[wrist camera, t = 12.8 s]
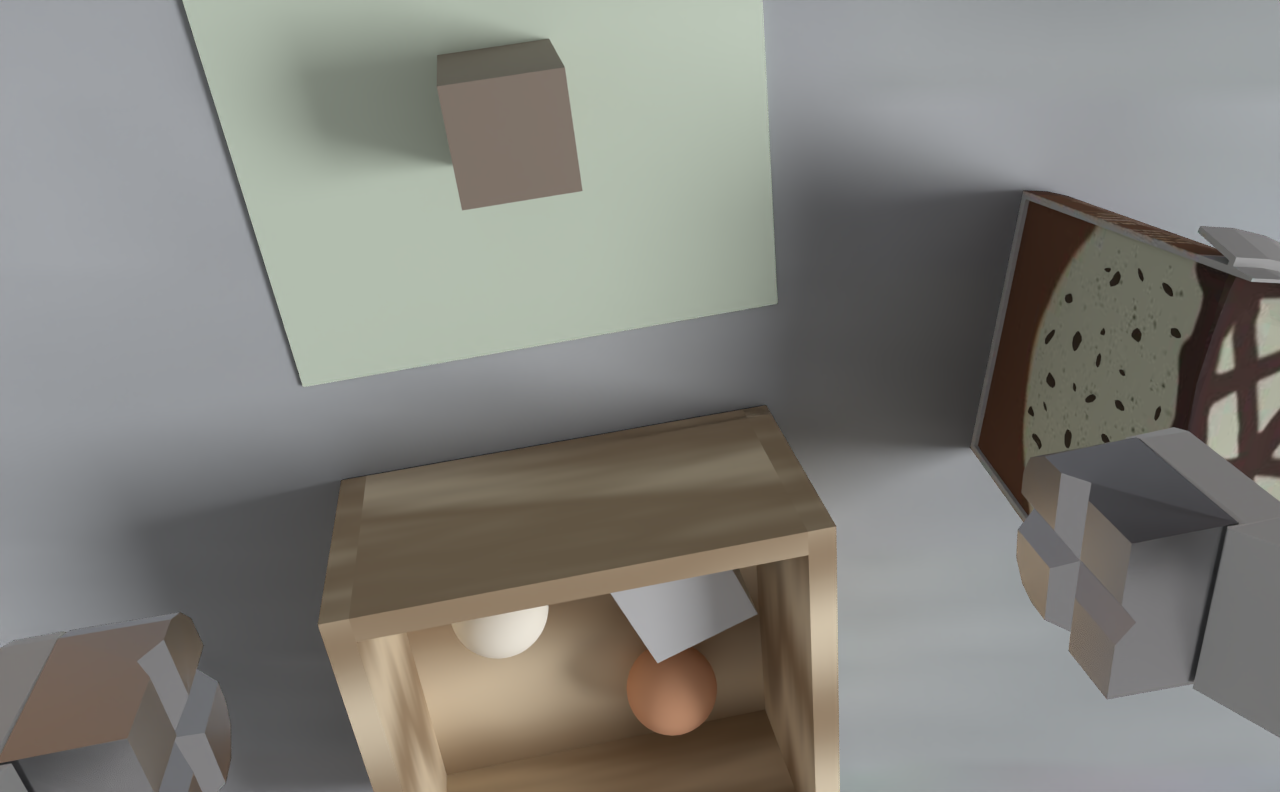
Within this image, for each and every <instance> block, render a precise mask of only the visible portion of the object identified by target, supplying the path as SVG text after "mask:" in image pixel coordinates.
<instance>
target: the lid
mask: <svg viewBox="0 0 1280 792" xmlns="http://www.w3.org/2000/svg"><path fill="white" fill-rule="evenodd" d="M182 1H183V4H184V7H185V11H186V14H187V17H188V20H189V23H190V27H191V30H192V33H193V36H194V39H195V43H196V46H197V49H198V52H199V55H200V59H201V62H202V65H203V68H204V71H205V75H206V78H207V81H208V84H209V87H210V91H211V94H212V97H213V100H214V103H215V107H216V110H217V113H218V116H219V119H220V123H221V126H222V129H223V132H224V135H225V139H226V142H227V145H228V148H229V151H230V155H231V158H232V161H233V164H234V167H235V171H236V174H237V177H238V180H239V183H240V187H241V190H242V193H243V196H244V199H245V203H246V206H247V209H248V212H249V215H250V219H251V222H252V225H253V228H254V232H255V235H256V238H257V241H258V244H259V248H260V251H261V254H262V257H263V260H264V264H265V267H266V270H267V273H268V276H269V280H270V283H271V286H272V289H273V292H274V296H275V299H276V302H277V305H278V308H279V312H280V315H281V318H282V321H283V324H284V328H285V331H286V334H287V337H288V340H289V344H290V347H291V350H292V353H293V356H294V360H295V363H296V366H297V369H298V372H299V376H300V379H301V382H302V385H303V387H307V386H313V385H319V384H324V383H330V382H336V381H341V380H347V379H353V378H358V377H364V376H370V375H375V374H381V373H387V372H393V371H398V370H404V369H410V368H415V367H421V366H427V365H432V364H438V363H444V362H449V361H455V360H461V359H467V358H472V357H478V356H484V355H489V354H495V353H501V352H506V351H512V350H518V349H523V348H529V347H535V346H541V345H546V344H552V343H558V342H563V341H569V340H575V339H580V338H586V337H592V336H597V335H603V334H609V333H615V332H620V331H626V330H632V329H637V328H643V327H649V326H654V325H660V324H666V323H671V322H677V321H683V320H689V319H694V318H700V317H706V316H711V315H717V314H723V313H728V312H734V311H740V310H745V309H751V308H757V307H763V306H768V305H774V304H778V303H777V282H776V262H775V242H774V222H773V201H772V181H771V161H770V140H769V120H768V100H767V80H766V59H765V39H764V19H763V0H182Z"/></svg>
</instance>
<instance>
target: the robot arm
mask: <svg viewBox="0 0 1280 792" xmlns="http://www.w3.org/2000/svg"><path fill="white" fill-rule="evenodd" d="M1021 493H1022V494H1023V496H1024V497H1025V498H1026V499H1027V500H1028V502H1029V503H1030V504H1031V505H1032V506H1033V508H1034V509H1033V510H1032V512H1031V513H1030V514H1029V516H1028V517H1027V518H1026V520H1025V521H1024V522H1023V523H1022V525H1021V526H1020V527H1019V529H1018V535H1017V555H1016V557H1017V562H1018V566H1019V571H1020V575H1021V580H1022V584H1023V586H1024V588H1025V590H1026V592H1027V594H1028V596H1029V598H1030V600H1031V602H1032V604H1033V605H1034V606H1035V608H1036V609H1037V610H1038V612H1039V613H1040V614H1041V616H1042V617H1043V618H1044V620H1046V621H1048V622H1051V623H1053V624H1055V625H1057V626H1059V627H1061V628H1064V629H1066V630H1068V631H1070V632H1071V634H1070V643H1069V652H1070V653H1071V654H1072V656H1073V657H1074V658H1075V660H1076V661H1077V662H1078V663H1079V665H1080V666H1081V667H1082V668H1083V670H1084V671H1085V672H1086V674H1087V675H1088V676H1089V677H1090V679H1091V680H1092V681H1093V682H1094V684H1095V685H1096V686H1097V687H1098V689H1099V690H1100V691H1101V693H1102V694H1103V695H1104V696H1105V698H1106V699H1112V698H1118V697H1123V696H1129V695H1134V694H1140V693H1145V692H1151V691H1157V690H1162V689H1168V688H1173V687H1179V686H1184V685H1190V684H1194V685H1193V689H1195V690H1197V691H1199V692H1200V693H1202V694H1204V695H1206V696H1207V697H1209V698H1211V699H1213V700H1214V701H1216V702H1218V703H1220V704H1221V705H1223V706H1225V707H1227V708H1229V709H1230V710H1232V711H1234V712H1236V713H1237V714H1239V715H1241V716H1243V717H1244V718H1246V719H1248V720H1250V721H1251V722H1253V723H1255V724H1257V725H1258V726H1260V727H1262V728H1264V729H1265V730H1267V731H1269V732H1271V733H1272V734H1274V735H1276V736H1278V737H1280V501H1278V500H1277V499H1276V498H1275V497H1273V496H1272V495H1271V494H1269V493H1268V492H1267V491H1265V490H1264V489H1263V488H1262V487H1260V486H1259V485H1258V484H1256V483H1255V482H1254V481H1253V480H1251V479H1250V478H1249V477H1247V476H1246V475H1245V474H1244V473H1242V472H1241V471H1240V470H1238V469H1237V468H1236V467H1234V466H1233V465H1232V464H1231V463H1229V462H1228V461H1227V460H1225V459H1224V458H1223V457H1222V456H1220V455H1219V454H1218V453H1216V452H1215V451H1214V450H1213V449H1211V448H1210V447H1209V446H1207V445H1206V444H1205V443H1203V442H1202V441H1201V440H1200V439H1198V438H1197V437H1196V436H1194V435H1193V434H1192V433H1191V432H1189V431H1186V430H1182V429H1179V428H1175V427H1172V428H1168V429H1163V430H1158V431H1154V432H1149V433H1144V434H1140V435H1135V436H1130V437H1126V438H1125V439H1124V440H1118V441H1113V442H1108V443H1103V444H1098V445H1092V446H1087V447H1082V448H1077V449H1071V450H1066V451H1061V452H1056V453H1051V454H1045V455H1040V456H1035V457H1030V459H1029V461H1028V463H1027V465H1026V467H1025V469H1024V472H1023V481H1022V490H1021ZM203 646H204V645H203V643H202V641H201V639H200V637H199V635H198V632H197V630H196V628H195V626H194V624H193V621H192V619H191V618H190V617H188V616H186V615H184V614H182V613H180V612H179V613H173V614H166V615H160V616H154V617H148V618H142V619H136V620H129V621H123V622H117V623H111V624H105V625H99V626H92V627H86V628H80V629H74V630H70V631H69V632H57V633H52V634H46V635H41V636H35V637H29V638H24V639H18V640H13V641H12V642H10V643H8V644H6V645H5V646H3V647H1V648H0V792H218V791H219V790H220V789H221V788H222V787H223V786H224V784H225V783H226V779H227V775H228V770H229V765H230V761H231V723H230V718H229V713H228V708H227V704H226V700H225V698H224V695H223V692H222V690H221V687H220V685H219V682H218V681H216V680H215V679H213V678H211V677H210V676H208V675H206V674H205V673H203V672H202V671H200V670H198V669H197V666H198V663H199V659H200V656H201V653H202V649H203Z"/></svg>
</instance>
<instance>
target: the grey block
mask: <svg viewBox="0 0 1280 792" xmlns="http://www.w3.org/2000/svg"><path fill="white" fill-rule="evenodd" d="M611 595H612V596H613V598H614V599H615V601H616V602H617V604H618V605H619V607H620V608H621V610H622V611H623V613H624V614H625V616H626V617H627V619H628V620H629V622H630V623H631V625H632V626H633V628H634V629H635V631H636V632H637V634H638V635H639V637H640V638H641V640H642V641H643V642H644V644H645V645H646V647H647V648H648V650H649V651H650V653H651V654H652V656H653V657H654V659H655V660H656V662H657V663H659V662H661V661H663V660H665V659H667V658H669V657H671V656H673V655H676V654H678V653H680V652H682V651H684V650H686V649H688V648H690V647H692V646H694V645H696V644H698V643H700V642H702V641H704V640H706V639H708V638H710V637H712V636H714V635H716V634H718V633H720V632H722V631H724V630H726V629H728V628H730V627H732V626H734V625H736V624H738V623H740V622H742V621H744V620H746V619H749V618H751V617H753V616H755V615H757V611H756V609H755V606H754V604H753V601H752V599H751V597H750V594H749V592H748V589H747V587H746V584H745V582H744V579H743V577H742V575H741V572H740V570H739V569H734V570H728V571H723V572H718V573H713V574H708V575H702V576H697V577H692V578H687V579H682V580H676V581H671V582H666V583H661V584H656V585H650V586H645V587H640V588H635V589H630V590H624V591H619V592H614V593H611Z"/></svg>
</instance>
